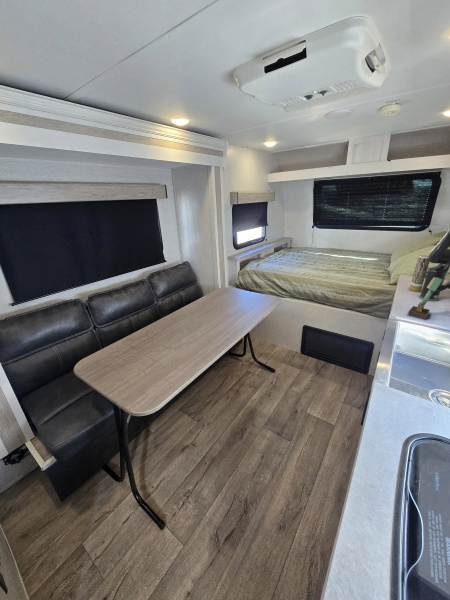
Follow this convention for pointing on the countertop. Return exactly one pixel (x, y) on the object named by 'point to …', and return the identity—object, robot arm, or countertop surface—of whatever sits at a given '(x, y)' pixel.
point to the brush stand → (419, 311)
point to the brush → (431, 289)
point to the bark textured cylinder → (419, 273)
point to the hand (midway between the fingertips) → (437, 290)
